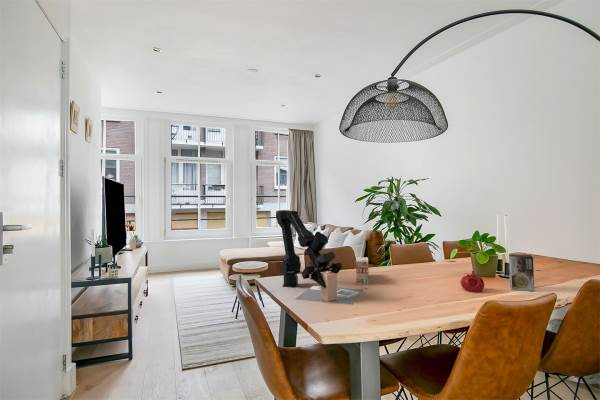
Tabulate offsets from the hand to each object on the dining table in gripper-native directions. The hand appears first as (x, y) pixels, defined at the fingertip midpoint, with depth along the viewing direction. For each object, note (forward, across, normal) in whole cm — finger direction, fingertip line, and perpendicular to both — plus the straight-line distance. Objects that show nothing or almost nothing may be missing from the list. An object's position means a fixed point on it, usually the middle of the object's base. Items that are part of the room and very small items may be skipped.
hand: (330, 286), depth 141 cm
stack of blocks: (-11, +38, +21) cm, 45 cm away
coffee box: (+28, +87, -19) cm, 94 cm away
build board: (-1, +6, +10) cm, 12 cm away
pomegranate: (+20, +66, -11) cm, 70 cm away
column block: (+3, 0, +5) cm, 6 cm away
